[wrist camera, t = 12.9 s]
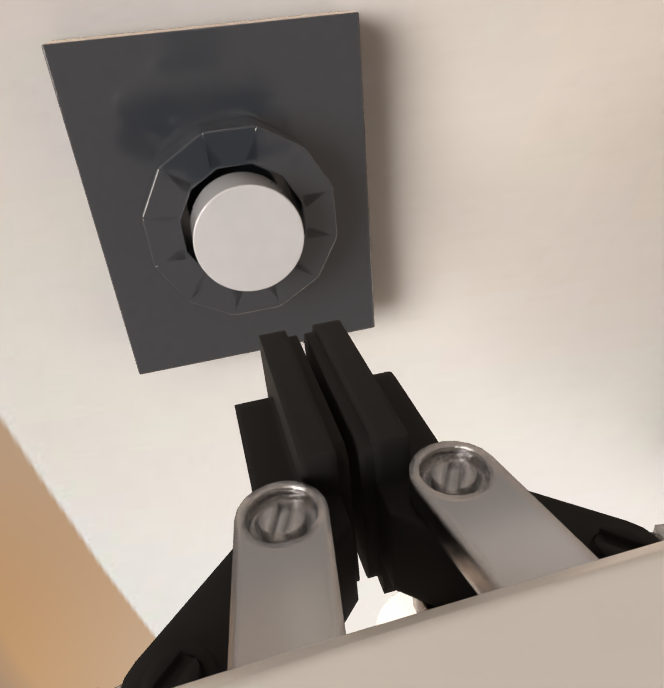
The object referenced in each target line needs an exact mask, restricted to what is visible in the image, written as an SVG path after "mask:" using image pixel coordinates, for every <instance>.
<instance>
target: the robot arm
mask: <svg viewBox="0 0 664 688" xmlns="http://www.w3.org/2000/svg"><path fill="white" fill-rule="evenodd" d="M258 338H259V345H260V351H261V357H262V363H263V369H264V375H265V381H266V386H267V392H268V398H265V399H260V400H256V401H251V402H247V403H242V404H238V405H235V410H236V415H237V419H238V424H239V429H240V434H241V439H242V444H243V449H244V453H245V458H246V463H247V468H248V473H249V478H250V483H251V487H252V493H251V494H250V495H248V496H247V497H246V498H245V499H244V500H243V501H242V503H241V504H240V506H239V507H238V509H237V512H236V516H235V520H234V536H233V549H232V550H231V552H230V553H229V554H228V555H227V556H226V557H225V559H224V560H223V561H222V562H221V563H220V564H219V566H218V567H217V568H216V569H215V570H214V571H213V572H212V574H211V575H210V576H209V577H208V578H207V579H206V581H205V582H204V583H203V584H202V585H201V586H200V588H199V589H198V590H197V591H196V592H195V593H194V595H193V596H192V597H191V598H190V599H189V600H188V602H187V603H186V604H185V605H184V606H183V607H182V608H181V610H180V611H179V612H178V613H177V614H176V615H175V617H174V618H173V619H172V620H171V621H170V622H169V624H168V625H167V626H166V627H165V628H164V629H163V631H162V632H161V633H160V634H159V635H158V636H157V638H156V639H155V640H154V641H153V642H152V643H151V645H150V646H149V647H148V648H147V649H146V650H145V651H144V653H143V654H142V655H141V656H140V657H139V658H138V660H137V661H136V662H135V664H134V665H133V666H132V668H131V669H130V671H129V672H128V674H127V675H126V677H125V678H124V681H123V683H122V684H121V685H119V686H117V687H115V688H664V524H661V525H655V527H654V531H653V532H649V531H647V530H646V529H644V528H643V527H640V526H638V525H636V524H633V523H631V522H628V521H626V520H622V519H619V518H616V517H612V516H609V515H606V514H603V513H599V512H596V511H593V510H589V509H586V508H583V507H580V506H576V505H573V504H570V503H566V502H563V501H560V500H557V499H553V498H550V497H547V496H543V495H540V494H537V493H534V492H530V491H528V490H527V489H526V488H525V487H524V486H523V485H522V484H521V483H520V482H518V481H517V480H516V479H515V478H514V477H513V476H512V475H511V474H510V473H509V472H508V471H507V470H506V469H505V468H504V467H503V466H502V465H501V464H500V463H499V462H498V461H497V460H496V459H495V458H494V457H493V456H491V455H490V454H489V453H487V452H486V451H485V450H483V449H482V448H479V447H477V446H475V445H472V444H470V443H464V442H459V441H442V442H438V441H437V439H436V438H435V436H434V435H433V433H432V432H431V430H430V429H429V427H428V426H427V424H426V423H425V421H424V420H423V418H422V417H421V415H420V414H419V412H418V411H417V409H416V408H415V406H414V404H413V403H412V401H411V400H410V398H409V397H408V395H407V394H406V392H405V391H404V389H403V388H402V386H401V385H400V383H399V382H398V380H397V379H396V377H395V376H394V375H393V374H392V372H384V373H379V374H375V375H373V374H372V373H371V371H370V369H369V368H368V366H367V364H366V363H365V361H364V359H363V358H362V356H361V354H360V353H359V351H358V349H357V348H356V346H355V345H354V343H353V341H352V340H351V338H350V336H349V335H348V333H347V331H346V330H345V328H344V326H343V325H342V323H341V321H340V320H334V321H329V322H324V323H319V324H314V325H313V326H312V332H309V333H304V343H305V351H306V355H305V353H304V350H303V348H302V346H301V344H300V341H299V339H298V337H297V335H294V336H289V337H288V336H287V334H286V331H285V330H284V331H279V332H274V333H269V334H264V335H259V336H258ZM357 552H358V554H357ZM358 555H359V558H360V560H361V563H362V566H363V568H364V571H365V573H366V576H367V577H368V578H371V577H374V576H378V579H379V581H380V584H381V586H382V589H383V592H384V594H385V593H389V592H392V591H395V590H397V591H399V592H401V593H404V594H406V595H408V596H411V597H413V606H414V608H415V610H416V614H413V615H410V616H406V617H403V618H400V619H396V620H393V621H389V622H386V623H383V624H379V625H376V626H373V627H369V628H366V629H363V630H359V631H356V632H353V633H350V634H346V631H345V624H344V623H345V621H346V620H347V618H348V616H349V615H350V613H351V611H352V610H353V608H354V606H355V605H356V603H357V601H358V590H357V581H359V580H360V576H359V565H358Z"/></svg>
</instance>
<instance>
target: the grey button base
mask: <svg viewBox="0 0 664 688" xmlns="http://www.w3.org/2000/svg"><path fill="white" fill-rule="evenodd" d="M42 50H43V53H44V56H45V60H46V63H47V66H48V70H49V73H50V76H51V80H52V83H53V87H54V90H55V93H56V97H57V100H58V103H59V107H60V110H61V113H62V117H63V120H64V123H65V127H66V130H67V133H68V137H69V140H70V143H71V147H72V150H73V153H74V157H75V160H76V163H77V167H78V170H79V173H80V177H81V180H82V183H83V187H84V190H85V194H86V197H87V200H88V204H89V207H90V210H91V214H92V217H93V220H94V224H95V227H96V230H97V234H98V237H99V240H100V244H101V247H102V250H103V254H104V257H105V260H106V264H107V267H108V270H109V274H110V277H111V280H112V284H113V287H114V290H115V294H116V297H117V301H118V304H119V307H120V311H121V314H122V317H123V321H124V324H125V327H126V331H127V334H128V337H129V341H130V344H131V347H132V351H133V354H134V357H135V361H136V364H137V367H138V371H139V373H140V374H145V373H150V372H155V371H160V370H165V369H170V368H175V367H180V366H185V365H190V364H195V363H200V362H205V361H209V360H214V359H219V358H224V357H229V356H234V355H239V354H244V353H249V352H254V351H259V350H260V345H259V338H258V336H259V335H264V334H269V333H274V332H279V331H284V330H285V331H286V334H287V336H288V337H289V336H294V335H297V337H298V339H299V341H300V342H303V341H304V333H309V332H312V326H313V325H314V324H319V323H324V322H329V321H334V320H340V321H341V323H342V325H343V326H344V328H345V330H346V331H347V333H348V332H353V331H358V330H362V329H367V328H372V327H374V326H375V325H374V305H373V285H372V265H371V245H370V226H369V206H368V186H367V166H366V146H365V126H364V106H363V87H362V67H361V47H360V27H359V13H358V12H348V11H337V12H328V13H318V14H308V15H298V16H289V17H279V18H269V19H259V20H249V21H240V22H230V23H220V24H210V25H201V26H191V27H181V28H171V29H162V30H152V31H142V32H132V33H122V34H113V35H103V36H93V37H83V38H74V39H64V40H54V41H51V42H48V43H45V44H43V45H42ZM234 172H252V173H257V174H260V175H263V176H265V177H267V178H269V179H270V180H272V181H273V182H275V183H276V184H277V185H278V186H280V188H281V189H282V190H283V191H284V192H285V194H286V195H287V196H288V198H289V199H290V201H291V202H292V204H293V205H294V207H295V208H296V210H297V211H298V213H299V215H300V217H301V220H302V223H303V228H304V246H303V250H302V253H301V256H300V258H299V260H298V262H297V264H296V266H295V267H294V268H293V270H292V271H291V272H290V273H289V274H288V275H287V276H286V277H285V278H284V279H283V280H281V281H280V282H278V283H277V284H275V285H273V286H271V287H268V288H265V289H262V290H257V291H238V290H234V289H230V288H227V287H225V286H222V285H221V284H219V283H217V282H216V281H214V280H213V279H212V278H210V277H209V276H208V275H207V274H206V273H205V271H204V270H203V269H202V267H201V266H200V264H199V262H198V260H197V258H196V255H195V252H194V247H193V241H192V235H191V229H190V217H191V211H192V208H193V205H194V203H195V200H196V198H197V197H198V195H199V194H200V192H201V191H202V190H203V189H204V188H205V187H206V186H207V185H208V184H209V183H211V182H212V181H213V180H215V179H217V178H219V177H221V176H223V175H226V174H229V173H234Z"/></svg>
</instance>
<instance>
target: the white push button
mask: <svg viewBox="0 0 664 688" xmlns="http://www.w3.org/2000/svg"><path fill="white" fill-rule="evenodd" d="M190 229H191V235H192V241H193V247H194V252H195V255H196V258H197V260H198V262H199V264H200V266H201V267H202V269H203V270H204V271H205V273H206V274H207V275H208V276H209V277H210V278H212V279H213V280H214V281H216V282H217V283H219V284H221V285H222V286H225V287H227V288H230V289H234V290H238V291H257V290H262V289H265V288H268V287H271V286H273V285H275V284H277V283H278V282H280V281H281V280H283V279H284V278H285V277H286V276H287V275H288V274H289V273H290V272H291V271H292V270H293V268H294V267H295V266H296V264H297V262H298V260H299V258H300V256H301V253H302V250H303V246H304V228H303V223H302V220H301V217H300V215H299V213H298V211H297V210H296V208H295V207H294V205H293V204H292V202H291V201H290V199H289V198H288V196H287V195H286V194H285V192H284V191H283V190H282V189H281V188H280V186H278V185H277V184H276V183H275V182H273V181H272V180H270V179H269V178H267V177H265V176H263V175H260V174H257V173H252V172H234V173H229V174H226V175H223V176H221V177H219V178H217V179H215V180H213V181H212V182H211V183H209V184H208V185H207V186H206V187H205V188H204V189H203V190H202V191H201V192H200V194H199V195H198V197H197V198H196V200H195V203H194V205H193V208H192V211H191V217H190Z"/></svg>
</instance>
